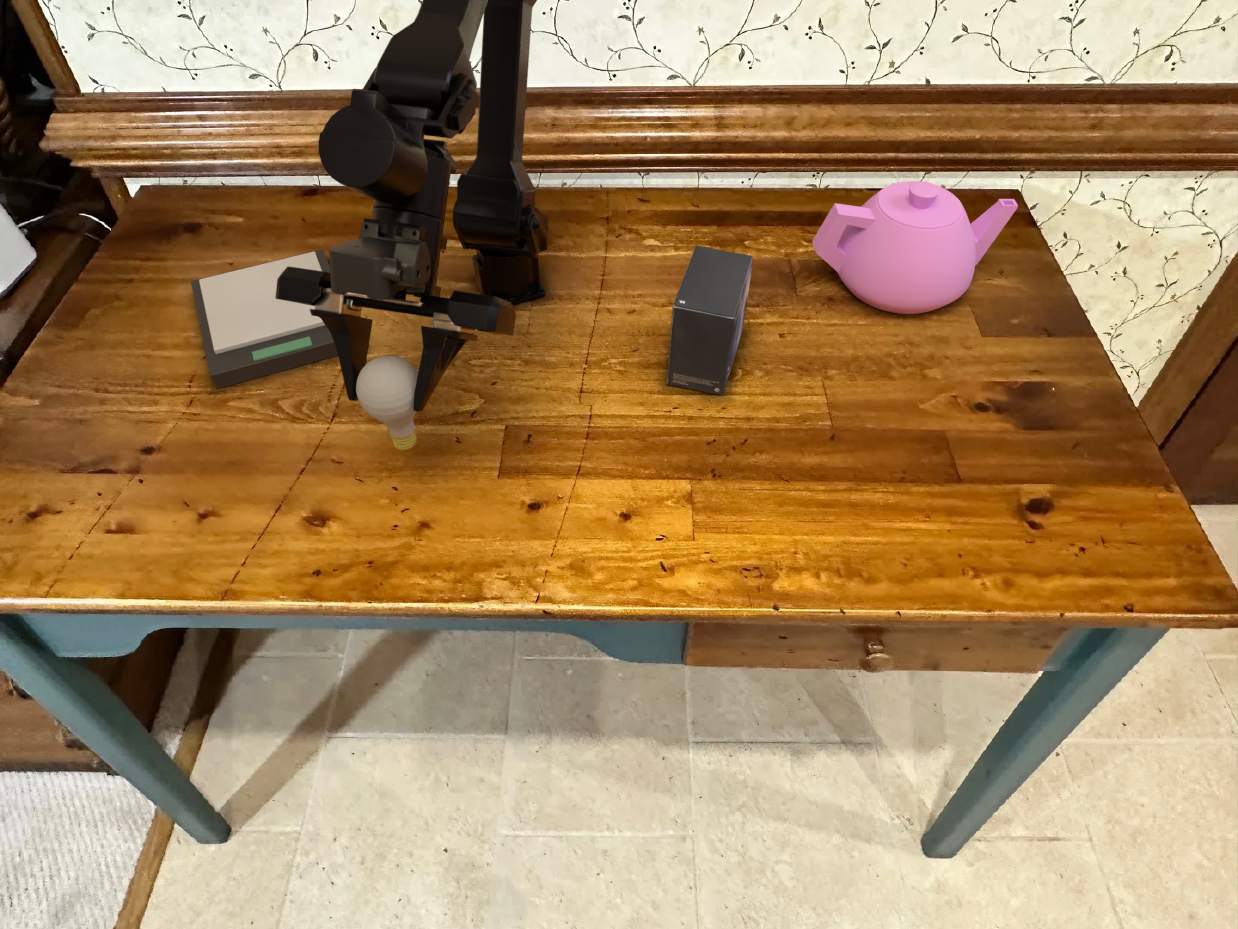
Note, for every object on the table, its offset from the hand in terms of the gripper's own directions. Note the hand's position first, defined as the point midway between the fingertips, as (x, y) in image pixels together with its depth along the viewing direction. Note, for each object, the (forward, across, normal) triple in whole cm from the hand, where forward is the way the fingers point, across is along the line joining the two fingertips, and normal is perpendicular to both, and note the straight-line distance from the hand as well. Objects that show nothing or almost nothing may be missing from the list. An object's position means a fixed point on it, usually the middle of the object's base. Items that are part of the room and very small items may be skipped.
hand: (385, 405), depth 73 cm
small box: (-8, +24, +26) cm, 36 cm away
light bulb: (+4, 0, +6) cm, 7 cm away
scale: (-6, -24, +23) cm, 34 cm away
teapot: (-21, +44, +39) cm, 62 cm away
